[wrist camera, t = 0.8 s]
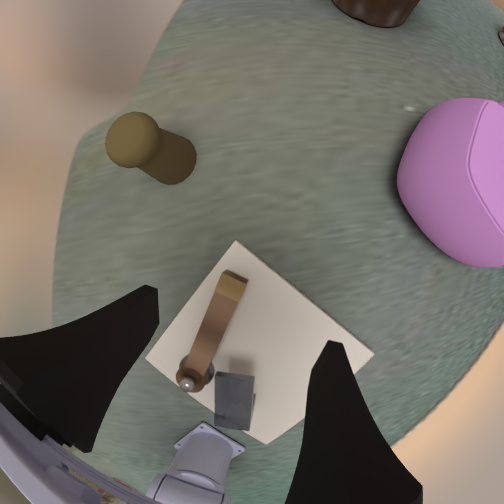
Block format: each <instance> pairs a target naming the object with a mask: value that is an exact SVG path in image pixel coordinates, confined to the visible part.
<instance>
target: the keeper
mask: <svg viewBox="0 0 504 504" xmlns="http://www.w3.org/2000/svg"><path fill="white" fill-rule="evenodd" d="M188 355H189V354H188ZM188 355H186V356H185V357H184V358H183V359H182V360H181V362H180V364H179V368H180V367H181V366H182V364H183V363H184V362H185V361H186V360H187V357H188ZM208 371H209V379H208V381H207V383H206V385H207V384H208V383H210V382H211V380H212V378H213V376H214V373H215V369H214V366H213V364H212V362H211V364H210V366H209V368H208ZM254 383H255V376H249V375H241V374H234V373H227V372H220V371H217V372H216V374H215V426H219V427H225V428H231V429H237V430H244V431H249V430H250V426H251V421H252V417H253V412H254V408H255V400H256V394H254ZM195 385H196V381H195V379H194V378H193V377H191V376H184V378H183V379H182V380H181V382H180V383H179V386H180V388H181V389H182V390H183V391H184V392H191V391H192V390H193V388H194V386H195Z"/></svg>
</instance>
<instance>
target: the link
mask: <svg viewBox="0 0 504 504" xmlns="http://www.w3.org/2000/svg"><path fill="white" fill-rule="evenodd" d="M248 281H249V280H248V279H246V278H244V277H242V276H240V275H237V274H235V273H233V272H231V271H229V270H227V269H226V270H225V271H224V272H222V274H221V276H220V278H219V281H218V283H217V285H216V288H215V290H214V291H215V292H214V294H213V296H212V299H211V301H210V304H209V306H208V308H207V311H206V313H205V316H204V318H203V321H202V323H201V325H200V328H199V330H198V333H197V335H196V338H195V340H194V343H193V345H192V348H191V350H190V353H189V355H188V357H187V360H186V361H185V362H184V363H183V364H182V366H181V367H180V368H179V370H178V371H177V373H176V381H177V383H178V385H179V383H180V382H181V380H182V379H183V378H184V376H191V377H193V378H194V379H195V381H196V385H195V386H194V388H193V390H192V391H191V392H192V393H197V392H200V391H201V390H202V389H203V388H204V386H205V385H206V383H207V381H208V379H209V371H208V368H209V366H210V364H211V362H212V359H213V357H214V355H215V353H216V351H217V348H218V346H219V344H220V342H221V340H222V338H223V335H224V333H225V331H226V329H227V327H228V324H229V322H230V320H231V318H232V316H233V313H234V311H235V309H236V307H237V304H238V302H239V300H240V298H241V297H242V295H243V292H244V290H245V288H246V286H247V284H248Z"/></svg>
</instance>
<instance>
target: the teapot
mask: <svg viewBox="0 0 504 504" xmlns="http://www.w3.org/2000/svg"><path fill="white" fill-rule="evenodd" d="M397 187H398V191H399V195H400V197H401V200H402V202H403V204H404V206H405V207H406V209H407V211H408V212H409V214H410V215H411V217H412V218H413V220H414V221H415V222H416V224H417V225H418V226H419V228H420V229H421V230H422V231H423V233H424V234H425V235H426V236H427V237H428V238H429V239H430V240H431V241H432V242H433V243H434V244H435V245H436V246H437V247H438V248H439V249H441V250H442V251H443V252H444V253H446V254H447V255H449V256H450V257H452V258H454V259H455V260H457V261H459V262H461V263H464V264H466V265H470V266H474V267H481V268H494V267H499V266H503V265H504V100H502V101H500V102H497V103H496V102H494V101H491V100H487V99H479V98H458V99H452V100H448V101H445V102H442V103H440V104H438V105H436V106H435V107H433V108H432V109H430V110H429V111H428V112H427V113H426V114H425V115H424V117H423V118H422V119H421V121H420V122H419V124H418V125H417V126H416V128H415V130H414V132H413V133H412V135H411V137H410V139H409V141H408V144H407V146H406V148H405V151H404V153H403V156H402V158H401V162H400V165H399V168H398V173H397Z"/></svg>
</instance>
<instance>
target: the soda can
mask: <svg viewBox="0 0 504 504" xmlns="http://www.w3.org/2000/svg"><path fill="white" fill-rule="evenodd" d="M499 35H500V37H501V41H502V43H503V44H504V27H503V28H502V29H501V31H500V32H499Z"/></svg>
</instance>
